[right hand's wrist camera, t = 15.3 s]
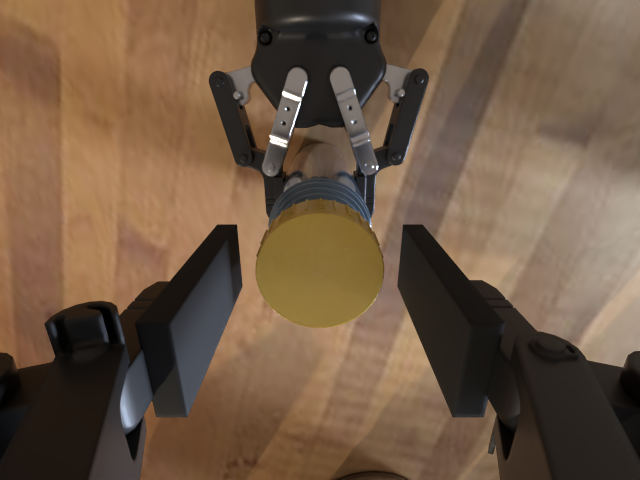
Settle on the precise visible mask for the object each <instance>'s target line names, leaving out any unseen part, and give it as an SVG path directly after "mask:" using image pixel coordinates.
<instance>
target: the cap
mask: <svg viewBox="0 0 640 480" xmlns="http://www.w3.org/2000/svg"><path fill="white" fill-rule="evenodd" d="M260 244H261V246H260V248H259V251H258V253H257V261H256V280H257V284H258V287H259V290H260V292H261V294H262V296H263V298H264V299H265V301H266V302H267V303H268V305H269V306H270V307H271V308H272V309H273V310H274V311H275V312H276V313H278V314H279V315H280V316H282V317H283V318H285V319H286V320H288V321H291V322H293V323H295V324H298V325H301V326H306V327H313V328H327V327H334V326H338V325H341V324H344V323H347V322H349V321H351V320H353V319H355V318H356V317H358V316H360V315H361V314H362V313H363V312H365V311H366V310H367V309H368V308H369V307H370V306H371V304H372V303H373V302H374V300H375V299H376V297H377V295H378V293H379V292H380V289H381V286H382V282H383V278H384V263H383V255H382V252H381V250H380V247H379V245H380V244H379V242H378V239H377V237H376V235H375V232H374V231H373V232H372V229H371V227H370V224H369V222H368V221H365V219H364V218H363V217H362V216H361V215H360V212H359V211H358V212H356V211H355V210H353V209H352V208H350V207H349V205H348V204H346V205H344V204H342V203H339V202H336V200H333V201H331V200H323V199H322V198H320V200H309V201H308V199H307V200H306V201H304V202H301V203H298V204H296V205H295V203H294V204H293V205H292V206H291V207H290V208H288V209H286V210H285V211H283V210H282V211H281V214H280V215H279V216H278V217H277V218H276V219H275V220H274V219H273V220H272V222H271V225H270V227H269V229H268V230H266V232H265V234H264V236H263V239H262V241H261V243H260Z"/></svg>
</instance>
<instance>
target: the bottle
mask: <svg viewBox="0 0 640 480" xmlns="http://www.w3.org/2000/svg"><path fill="white" fill-rule="evenodd" d="M320 198H322V199H323V200H331V201H333V200H336V202H339V203H342V204H344V205H346V204H348V205H349V207H350V208H352V209H353V210H355V211H356V212H358V211H359V212H360V215H361V216H362V217H363V218H364V219H365V221H368V222H369V224H370V227H371V219H370V214H369V211H368V208H367V206H366V204H365V202H364V199H363V197H362V195H361V193H360V190H359V188H358V186H357V184H356V181H355V179H354V177H353V175H352V173H351V170H350V168H349V166H348V164H347V161H346V159H345V157H344V156H343V154H342V153H341V152H340V151H339V150H338V149H337V148H336V147H334V146H332V145H330V144H327V143H314V144H310V145H308V146H306V147H304V148H303V149H302V150H301V151H300V152H299V153H298V154H297V155H296V157H295V159H294V161H293V163H292V166H291V168H290V170H289V172H288V175H287V177H286V179H285V181H284V183H283V186H282V188H281V190H280V192H279V195H278V197H277V199H276V201H275V203H274V206H273V208H272V210H271V213H270V217H269V227H270V225H271V222H272V220H273V219H274V220H275V219H276V218H277V217H278V216H279V215H280V214H281V211H282V210H283V211H285V210H286V209H288V208H290V207H291V206H292V205H293V204H294V203H295V205H296V204H298V203H301V202H304V201H306V200H307V199H308V201H309V200H320Z"/></svg>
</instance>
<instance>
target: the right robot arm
mask: <svg viewBox="0 0 640 480" xmlns="http://www.w3.org/2000/svg"><path fill="white" fill-rule="evenodd" d="M241 289H242V275H241V265H240V254H239V243H238V232H237V225H217V226H216V227H215V228H214V229H213V231H212V232H211V233H210V234H209V235H208V236H207V238H206V239H205V240H204V241H203V242H202V244H201V245H200V246H199V247H198V248H197V250H196V251H195V252H194V253H193V254H192V256H191V257H190V258H189V259H188V260H187V262H186V263H185V264H184V265H183V266H182V267H181V269H180V270H179V271H178V272H177V273H176V275H175V276H174V277H173V278H172V279H171V281H170V282H156V283H155V284H153V285H151V286H149V287H148V288H146V289H144V290H143V291H142V292H141V293H140V294H139V295H138V296H137V298H136V299H135V301H133V302H132V303H131V304H130V305H129V306H128V307H127V309H125V310H124V311H123V312H122V313H121V315H120V316H119V313H118V309H117V306H116V305H114V304H113V303H111V302H105V301H95V302H87V303H82V304H78V305H75V306H72V307H69V308H67V309H64V310H62V311H60V312H59V313H57V314H55V315H53V316H52V317H51V318H50V319H49V320H48V321H47V322H46V323H45V327H46V330H47V333H48V336H49V339H50V342H51V345H52V347H53V350H54V353H55V356H56V357H55V359H54V360H53V362H51V363H46V364H41V365H36V366H31V367H26V368H21V369H17V367H16V364H15V362H14V359H13V357H12V356H10V355H9V354H7V353H0V480H140V474H141V467H142V459H143V452H144V445H145V437H146V423H145V419H144V413H145V411H146V410H147V408H148V406H149V404H150V403H151V401H153V405H154V410H155V414H156V417H187V416H188V414H189V412H190V409H191V407H192V405H193V402H194V400H195V398H196V395H197V393H198V390H199V388H200V386H201V383H202V381H203V379H204V376H205V374H206V371H207V369H208V367H209V364H210V362H211V360H212V357H213V355H214V352H215V350H216V348H217V345H218V343H219V341H220V338H221V336H222V334H223V331H224V329H225V326H226V324H227V322H228V319H229V317H230V315H231V312H232V310H233V307H234V305H235V303H236V300H237V298H238V296H239V293H240V291H241ZM398 289H399V291H400V293H401V296H402V298H403V300H404V303H405V305H406V307H407V310H408V312H409V315H410V317H411V319H412V322H413V324H414V326H415V329H416V331H417V334H418V336H419V338H420V341H421V343H422V345H423V348H424V350H425V352H426V355H427V357H428V360H429V362H430V364H431V367H432V369H433V371H434V374H435V376H436V379H437V381H438V383H439V386H440V388H441V390H442V393H443V395H444V397H445V400H446V402H447V405H448V407H449V409H450V412H451V414H452V416H453V417H484V414H485V410H486V405H487V401H488V399H489V401H490V403H491V404H492V406H493V408H494V410H495V411H496V413H497V415H496V419H495V423H494V427H493V431H492V435H491V439H490V443H489V449H488V453H490V454H493V452H494V448H495V446H496V451H497V458H498V466H499V473H500V480H640V351H634V352H632V353H631V354H629V355H628V357H627V359H626V362H625V364H624V367H623V368H622V367H617V366H612V365H607V364H602V363H597V362H592V361H588V360H586V358H585V356H584V355H583V354H582V353H581V351H580V350H579V349H578V348H577V347H575V346H574V345H572V344H571V343H570V342H568V341H566V340H564V339H562V338H560V337H557V336H555V335H552V334H548V333H544V332H537V331H536V330H535V329H534V328H533V327H532V325H531V324H530V323H529V322H528V321H527V320H526V319H525V318H524V317H523V316H522V315H521V314H520V313H519V312H518V311H517V310H516V309H515V308H513V305H512V304H511V303H510V302H509V301H508V300H506V299H505V297H504V296H503V295H502V294H501V293H500V292H499V291H498V290H497V289H496V288H495V287H493V286H491V285H489V284H488V283H486V282H484V281H482V280H469V279H468V278H467V277H466V276H465V275H464V273H463V272H462V271H461V270H460V269H459V267H458V266H457V265H456V264H455V263H454V261H453V260H452V259H451V258H450V257H449V256H448V254H447V253H446V252H445V251H444V250H443V248H442V247H441V246H440V245H439V244H438V242H437V241H436V240H435V239H434V238H433V236H432V235H431V234H430V233H429V232H428V231H427V229H426V228H425V227H424V226H423V225H403V232H402V243H401V254H400V265H399V276H398ZM340 480H407V479H405V478H402V477H400V476H396V475H393V474H388V473H380V472H367V473H359V474H354V475H350V476H347V477H344V478H342V479H340Z"/></svg>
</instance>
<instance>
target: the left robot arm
mask: <svg viewBox="0 0 640 480" xmlns="http://www.w3.org/2000/svg"><path fill="white" fill-rule="evenodd" d="M380 10H381V0H255V15H256V29H257V47H256V52H255V55H254V57H253V59H252V62H251V66H249V67H246V68H242V69H239V70H235V71H232V72H228V73H224V72H221V71H215V72H213V73H212V74H211V75H210V77H209V84H210V87H211V90H212V93H213V96H214V99H215V102H216V105H217V108H218V111H219V114H220V117H221V120H222V123H223V126H224V129H225V132H226V135H227V138H228V141H229V144H230V147H231V150H232V153H233V156H234V159H235V162H236V163H237V164H238V165H239V166H241V167H249V168H252V169H255V170H257V171H259V172H260V173H261V174H262V175H263V178H264V185H265V199H266V213H267V215H268V217H270V213H271V210H272V208H273V206H274V203H275V201H276V199H277V197H278V195H279V192H280V190H281V188H282V186H283V183H284V181H285V179H286V172H283V163H284V160H285V157H286V154H287V151H288V147H289V144H290V141H291V139H292V136H293V133H294V130H295V127H296V128H308V127H312V126H315V125H318V124H321V125H324V126H328V127H343V126H344V128H345V131H346V134H347V137H348V139H349V142H350V145H351V148H352V150H353V153H354V156H355V159H356V162H357V164H356V171H353V177H354V179H355V181H356V184H357V186H358V188H359V190H360V193H361V195H362V197H363V199H364V202H365V204H366V206H367V208H368V211H369V214H370V218H371V217H372V215H373V213H374V203H375V180H376V175H377V173H378V172H379V171H380V170H381V169H383V168H386V167H388V166H391V165H400V164H401V163H402V162H403V161H404V160H405V157H406V153H407V150H408V147H409V143H410V140H411V137H412V134H413V130H414V127H415V124H416V120H417V117H418V114H419V110H420V107H421V104H422V101H423V97H424V94H425V91H426V87H427V84H428V80H429V76H428V73H427V72H426V71H425V70H424V69H421V68H419V69H414V70H409V69H405V68H401V67H397V66H393V65H389V64H386V59H385V57H384V55H383V52H382V50H381V46H380V39H379V34H380ZM381 81H383V82H385V83H386V85H387V88H388V92H387V96H388V99H389V100H390V101H391V102H392V103H394V107H393V111H392V114H391V118H390V121H389V125H388V129H387V132H386V136H385V140H384V143H383V146H382V147H379V148H377V149H374V150H373V147H372V144H371V141H370V137H369V133H368V129H367V126H366V123H365V120H364V117H363V114H362V111H361V110H362V108H363V107H364V105H365V104H366V103H367V101H368V100H369V98H370V97H371V95H372V94H373V93H374V91H375V90H376V88H377V87H378V85H379V84H380V83H381ZM255 83H257V85H258V86H259V87H260V89H261V90H262V91H263V93H264V94H265V95H266V97H267V98H268V99H269V101H270V102H271V104H272V105H273V106H274V108H275V109H276V110H277V114H276V117H275V121H274V124H273V128H272V131H271V134H270V140H269V144H268V147H267V150H266V151H264V150H261V149H259V148H257V146H256V143H255V140H254V136H253V133H252V130H251V126H250V123H249V120H248V117H247V113H246V110H245V107H244V105H247V104H248V103H249V102H250V100H251V93H250V90H251V87H252V85H253V84H255Z"/></svg>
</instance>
